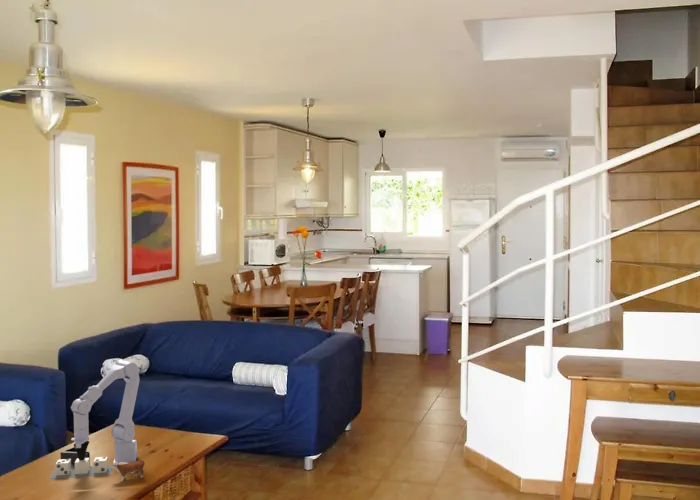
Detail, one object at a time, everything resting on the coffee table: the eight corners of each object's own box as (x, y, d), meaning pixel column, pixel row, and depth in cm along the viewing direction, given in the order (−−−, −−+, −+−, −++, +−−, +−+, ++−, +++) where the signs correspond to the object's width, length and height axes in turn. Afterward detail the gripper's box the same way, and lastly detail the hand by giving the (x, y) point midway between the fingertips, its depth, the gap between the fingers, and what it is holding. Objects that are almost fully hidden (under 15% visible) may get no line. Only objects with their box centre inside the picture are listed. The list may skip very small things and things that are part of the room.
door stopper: (60, 465, 314) (80, 470, 309) (60, 452, 313) (80, 456, 308) (76, 459, 322) (96, 463, 317) (76, 446, 322) (96, 450, 316)
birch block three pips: (71, 470, 306) (70, 458, 306) (68, 474, 301) (68, 462, 301) (58, 471, 306) (58, 459, 305) (55, 475, 301) (55, 463, 300)
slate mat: (114, 466, 313) (114, 465, 313) (109, 476, 301) (109, 475, 301) (55, 470, 309) (55, 468, 309) (49, 480, 297) (48, 478, 297)
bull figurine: (110, 480, 297) (110, 460, 296) (144, 475, 302) (143, 456, 302) (111, 484, 293) (111, 464, 292) (145, 478, 298) (145, 459, 298)
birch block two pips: (108, 468, 309) (107, 456, 309) (106, 472, 304) (105, 460, 304) (95, 468, 308) (95, 457, 308) (93, 473, 303) (93, 461, 303)
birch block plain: (89, 469, 308) (89, 457, 308) (87, 473, 303) (87, 461, 303) (77, 470, 307) (77, 458, 307) (74, 474, 302) (74, 462, 302)
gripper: (74, 423, 310) (75, 454, 311) (67, 433, 296) (68, 466, 297) (91, 422, 312) (92, 453, 312) (85, 432, 297) (86, 465, 298)
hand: (81, 459), depth 305 cm, fingers closed
